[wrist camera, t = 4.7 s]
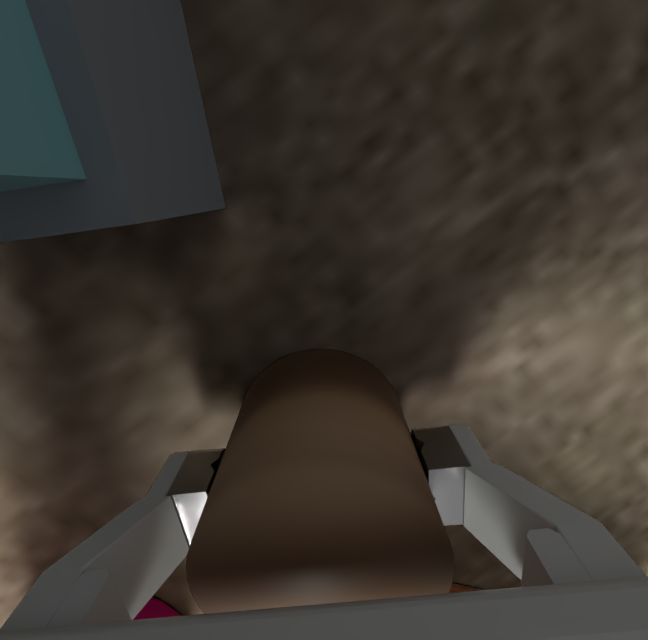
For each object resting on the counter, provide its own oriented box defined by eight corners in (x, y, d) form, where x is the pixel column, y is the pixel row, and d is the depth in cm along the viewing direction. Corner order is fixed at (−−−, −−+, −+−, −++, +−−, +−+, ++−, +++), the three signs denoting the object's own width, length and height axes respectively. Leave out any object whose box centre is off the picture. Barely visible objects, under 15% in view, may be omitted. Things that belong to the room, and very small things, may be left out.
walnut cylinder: (226, 359, 11) (152, 490, 6) (395, 340, 10) (456, 459, 6) (257, 488, 12) (219, 667, 8) (403, 474, 12) (453, 649, 8)
